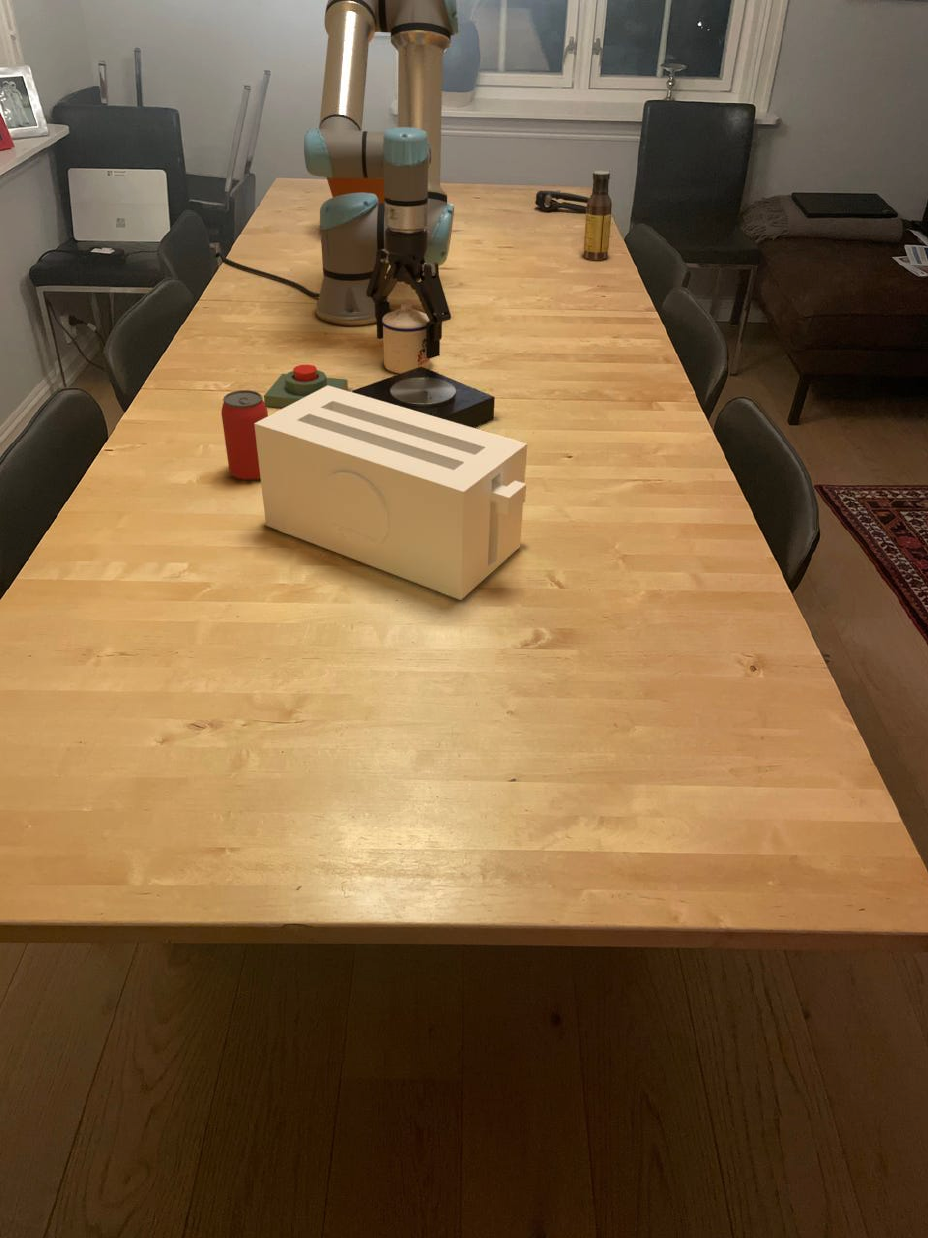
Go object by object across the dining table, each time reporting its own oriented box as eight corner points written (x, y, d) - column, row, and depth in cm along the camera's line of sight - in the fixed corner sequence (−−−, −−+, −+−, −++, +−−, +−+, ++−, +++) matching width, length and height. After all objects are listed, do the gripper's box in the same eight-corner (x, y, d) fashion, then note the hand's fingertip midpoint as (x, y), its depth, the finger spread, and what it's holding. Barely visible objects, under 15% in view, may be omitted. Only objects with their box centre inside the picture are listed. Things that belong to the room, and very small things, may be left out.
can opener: (533, 212, 276) (534, 191, 272) (535, 206, 281) (537, 185, 278) (594, 216, 273) (597, 195, 270) (596, 210, 279) (598, 189, 276)
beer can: (236, 485, 142) (226, 410, 135) (224, 466, 147) (213, 392, 140) (279, 476, 145) (271, 402, 137) (265, 458, 149) (257, 385, 142)
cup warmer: (351, 411, 164) (349, 386, 161) (419, 386, 173) (419, 361, 170) (425, 447, 154) (425, 421, 151) (493, 418, 163) (495, 393, 160)
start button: (290, 381, 164) (290, 372, 163) (298, 373, 168) (297, 363, 167) (313, 383, 164) (312, 374, 163) (320, 375, 167) (319, 365, 166)
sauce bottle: (602, 253, 244) (611, 168, 232) (610, 260, 239) (620, 174, 227) (578, 254, 242) (586, 169, 231) (586, 261, 238) (594, 174, 226)
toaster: (262, 528, 132) (250, 425, 123) (334, 482, 143) (328, 385, 134) (478, 611, 118) (482, 502, 109) (539, 553, 129) (548, 449, 120)
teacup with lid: (428, 376, 177) (428, 313, 170) (379, 373, 177) (377, 311, 170) (435, 352, 186) (436, 292, 179) (389, 350, 187) (387, 289, 180)
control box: (264, 406, 165) (262, 384, 162) (283, 383, 173) (281, 362, 170) (332, 413, 163) (331, 390, 161) (348, 389, 171) (346, 368, 169)
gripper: (344, 217, 172) (349, 333, 184) (440, 246, 158) (439, 370, 170) (375, 211, 176) (378, 325, 189) (472, 238, 162) (469, 359, 175)
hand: (407, 346), depth 180 cm, fingers open, 13 cm apart
